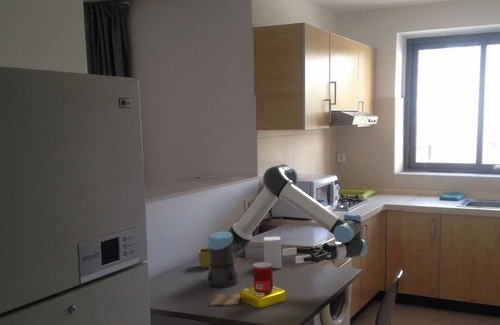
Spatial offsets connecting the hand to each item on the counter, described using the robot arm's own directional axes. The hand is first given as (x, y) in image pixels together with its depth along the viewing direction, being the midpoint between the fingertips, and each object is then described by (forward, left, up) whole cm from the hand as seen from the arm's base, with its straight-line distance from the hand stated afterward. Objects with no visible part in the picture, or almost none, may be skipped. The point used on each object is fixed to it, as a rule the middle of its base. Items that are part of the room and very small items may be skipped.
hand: (289, 256), depth 204 cm
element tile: (-12, -3, -18) cm, 22 cm away
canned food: (-11, -4, -13) cm, 18 cm away
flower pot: (-44, +49, -18) cm, 68 cm away
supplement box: (-9, +48, -18) cm, 52 cm away
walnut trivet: (-27, -4, -18) cm, 33 cm away
